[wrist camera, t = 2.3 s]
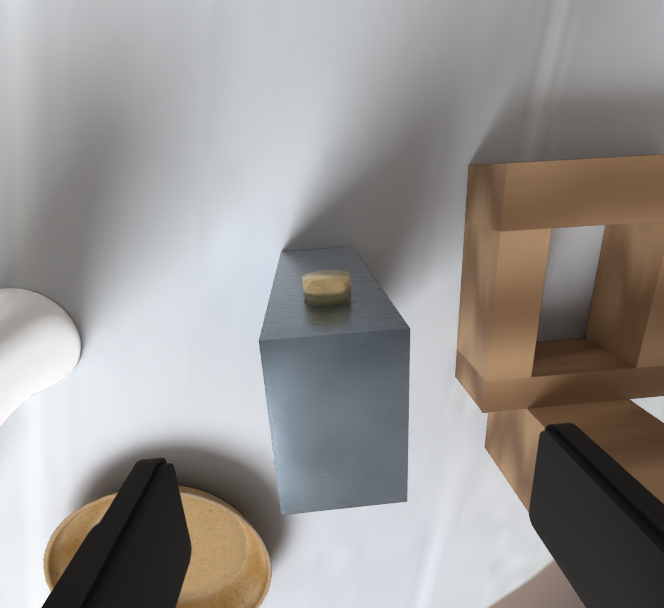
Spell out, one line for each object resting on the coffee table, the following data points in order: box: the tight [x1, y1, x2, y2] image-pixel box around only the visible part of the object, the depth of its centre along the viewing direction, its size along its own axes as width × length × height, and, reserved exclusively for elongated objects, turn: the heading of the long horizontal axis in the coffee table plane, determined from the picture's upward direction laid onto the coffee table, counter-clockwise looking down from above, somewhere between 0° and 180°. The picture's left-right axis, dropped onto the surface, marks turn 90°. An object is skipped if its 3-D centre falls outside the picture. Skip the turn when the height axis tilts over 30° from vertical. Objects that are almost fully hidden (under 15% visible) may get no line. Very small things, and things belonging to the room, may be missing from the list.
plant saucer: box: [44, 486, 272, 608], centre depth 26 cm, size 15×15×3 cm
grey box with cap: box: [259, 247, 410, 515], centre depth 16 cm, size 7×4×12 cm, turn 3°
